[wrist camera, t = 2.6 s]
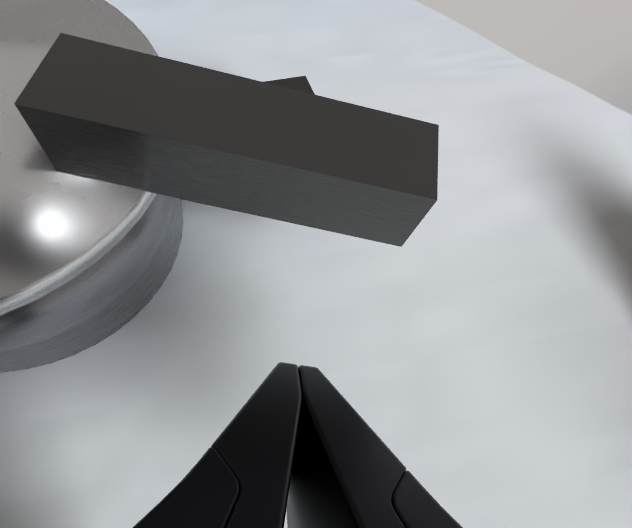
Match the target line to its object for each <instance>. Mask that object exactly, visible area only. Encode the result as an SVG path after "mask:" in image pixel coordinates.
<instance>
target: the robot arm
mask: <svg viewBox="0 0 632 528" xmlns="http://www.w3.org/2000/svg"><path fill="white" fill-rule="evenodd" d="M286 507H287V524H288V528H462V527H461V526H460V525H459V524H458V523H457V522H456V521H455V520H454V519H453V518H452V517H451V516H450V515H449V514H448V513H447V512H446V511H445V510H444V509H443V508H442V507H441V506H440V504H439V503H438V502H437V501H436V500H435V499H434V498H433V497H432V496H431V495H430V494H429V493H428V492H427V491H426V489H425V488H424V487H423V486H422V485H421V484H420V483H419V482H418V481H417V479H416V478H415V477H414V476H413V475H412V474H411V473H410V472H409V471H406V467H405V466H404V465H403V464H402V463H401V462H400V461H399V459H398V458H397V457H396V456H395V455H394V454H393V453H392V451H391V450H390V449H389V448H388V447H387V446H386V445H385V444H384V442H383V441H382V440H381V439H380V438H379V437H378V436H377V435H376V433H375V432H374V431H373V430H372V429H371V428H370V427H369V426H368V424H367V423H366V422H365V421H364V420H363V419H362V418H361V416H360V415H359V414H358V413H357V412H356V411H355V410H354V409H353V407H352V406H351V405H350V404H349V403H348V402H347V401H346V400H345V398H344V397H343V396H342V395H341V394H340V393H339V392H338V391H337V389H336V388H335V387H334V386H333V385H332V384H331V383H330V381H329V380H328V379H327V378H326V377H325V376H324V375H323V374H322V372H321V371H320V370H319V369H318V368H316V367H310V366H303V365H301V366H299V367H298V366H297V365H295V364H289V363H283V362H280V363H278V364H277V365H276V367H275V368H274V369H273V370H272V372H271V373H270V374H269V375H268V377H267V378H266V379H265V380H264V382H263V383H262V384H261V385H260V386H259V388H258V389H257V390H256V391H255V393H254V394H253V395H252V396H251V398H250V399H249V400H248V401H247V403H246V404H245V405H244V406H243V407H242V409H241V410H240V411H239V412H238V414H237V415H236V416H235V417H234V419H233V420H232V421H231V422H230V424H229V425H228V426H227V427H226V428H225V430H224V431H223V432H222V433H221V435H220V436H219V437H218V438H217V440H216V441H215V442H214V443H213V445H212V446H211V448H209V449H208V450H207V452H206V453H205V454H204V455H203V457H202V458H201V459H200V460H199V462H198V463H197V464H196V465H195V466H194V467H193V468H192V469H191V471H190V472H189V473H188V474H187V475H186V476H185V477H184V479H183V480H182V481H181V482H180V483H179V484H178V485H177V486H176V487H175V488H174V489H173V490H172V491H171V492H170V493H169V494H168V495H167V496H166V497H165V498H164V499H163V500H162V501H161V502H160V503H159V504H157V505H156V506H155V507H154V508H153V509H152V510H151V511H150V512H149V513H148V514H147V515H146V516H145V517H144V518H142V519H141V520H140V521H139V522H138V523H137V524H136V525H135V526H134V527H133V528H284V521H285V514H286Z"/></svg>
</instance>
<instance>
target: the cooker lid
mask: <svg viewBox="0 0 632 528" xmlns="http://www.w3.org/2000/svg"><path fill="white" fill-rule="evenodd" d="M438 126H439V125H436V124H432V123H428V122H424V121H420V120H415V119H411V118H407V117H403V116H399V115H395V114H391V113H387V112H383V111H379V110H375V109H371V108H366V107H362V106H358V105H354V104H350V103H346V102H342V101H338V100H334V99H330V98H326V97H322V96H317V95H313V94H309V93H305V92H301V91H297V90H293V89H289V88H285V87H281V86H277V85H273V84H268V83H264V82H260V81H256V80H252V79H248V78H244V77H240V76H236V75H232V74H228V73H224V72H219V71H215V70H211V69H207V68H203V67H199V66H195V65H191V64H187V63H183V62H179V61H175V60H170V59H166V58H162V57H158V54H157V53H156V51H155V50H154V48H153V47H152V45H151V44H150V42H149V41H148V39H147V38H146V36H145V35H144V34H143V33H142V32H141V31H140V30H139V29H138V27H137V26H136V25H135V24H134V23H133V22H132V21H131V20H130V19H128V18H127V17H126V16H125V15H124V14H123V13H121V12H120V11H119V10H118V9H117V8H115V7H114V6H112V5H111V4H109V3H108V2H106V1H105V0H0V316H1V315H3V314H5V313H8V312H10V311H12V310H15V309H17V308H19V307H22V306H24V305H26V304H29V303H31V302H33V301H35V300H37V299H39V298H41V297H43V296H44V295H46V294H48V293H50V292H52V291H53V290H55V289H57V288H59V287H60V286H62V285H64V284H66V283H68V282H69V281H71V280H72V279H73V278H75V277H76V276H78V275H79V274H81V273H82V272H83V271H85V270H86V269H88V268H89V267H90V266H92V265H93V264H95V263H96V262H97V261H99V260H100V259H101V258H102V257H103V256H104V255H105V254H106V253H108V252H109V251H110V250H111V249H112V248H113V247H114V246H115V245H117V244H118V243H119V242H120V241H121V240H122V239H123V238H124V237H125V235H126V234H127V233H128V232H129V231H130V230H131V229H132V228H133V226H134V225H135V224H136V223H137V222H138V221H139V220H140V219H141V217H142V216H143V214H144V213H145V211H146V210H147V208H148V207H149V205H150V204H151V202H152V201H153V199H154V198H155V196H156V194H160V195H165V196H170V197H174V198H179V199H183V200H188V201H193V202H197V203H202V204H207V205H211V206H216V207H220V208H225V209H230V210H234V211H239V212H244V213H248V214H253V215H257V216H262V217H267V218H271V219H276V220H281V221H285V222H290V223H294V224H299V225H304V226H308V227H313V228H318V229H322V230H327V231H331V232H336V233H341V234H345V235H350V236H355V237H359V238H364V239H368V240H373V241H378V242H382V243H387V244H392V245H396V246H402V245H403V244H404V243H405V241H406V240H407V239H408V237H409V236H410V235H411V233H412V232H413V231H414V230H415V228H416V227H417V226H418V224H419V223H420V222H421V220H422V219H423V218H424V217H425V215H426V214H427V213H428V211H429V210H430V209H431V207H432V206H433V205H434V204H435V202H436V201H437V178H438Z"/></svg>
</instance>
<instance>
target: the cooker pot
mask: <svg viewBox="0 0 632 528" xmlns="http://www.w3.org/2000/svg"><path fill="white" fill-rule="evenodd" d="M264 83H268V84H273V85H277V86H281V87H285V88H289V89H293V90H297V91H301V92H305V93H309V94H313V95H315V94H314V92H313V90H312V88H311V86H310V84H309V82H308V80H307V78H306V76H301V77H294V78H287V79H280V80H273V81H266V82H264ZM182 227H183V214H182V204H181V200H180V199H179V198H174V197H170V196H165V195H160V194H156V196H155V198H154V199H153V201H152V202H151V204H150V205H149V207H148V208H147V210H146V211H145V213H144V214H143V216H142V217H141V219H140V220H139V221H138V222H137V223H136V224H135V225H134V226H133V228H132V229H131V230H130V231H129V232H128V233H127V234H126V235H125V237H124V238H123V239H122V240H121V241H120V242H119V243H118V244H117V245H115V246H114V247H113V248H112V249H111V250H110V251H109V252H108V253H106V254H105V255H104V256H103V257H102V258H101V259H100V260H99V261H97V262H96V263H95V264H93V265H92V266H90V267H89V268H88V269H86V270H85V271H83V272H82V273H81V274H79V275H78V276H76V277H75V278H73V279H72V280H71V281H69V282H68V283H66V284H64V285H62V286H60V287H59V288H57V289H55V290H53V291H52V292H50V293H48V294H46V295H44V296H43V297H41V298H39V299H37V300H35V301H33V302H31V303H29V304H26V305H24V306H22V307H19V308H17V309H15V310H12V311H10V312H8V313H5V314H3V315H1V316H0V372H8V371H15V370H23V369H29V368H33V367H37V366H41V365H45V364H49V363H53V362H55V361H58V360H61V359H64V358H66V357H69V356H72V355H75V354H77V353H79V352H81V351H83V350H85V349H87V348H89V347H91V346H93V345H95V344H97V343H99V342H100V341H102V340H103V339H105V338H106V337H108V336H110V335H111V334H113V333H114V332H116V331H117V330H119V329H120V328H121V327H122V326H124V325H125V324H126V323H127V322H129V321H130V320H131V319H132V318H134V317H135V316H136V315H137V314H138V313H139V312H140V311H141V310H142V308H143V307H144V306H145V305H146V304H147V303H148V302H149V301H150V300H151V299H152V297H153V296H154V295H155V293H156V292H157V291H158V290H159V288H160V287H161V286H162V284H163V282H164V280H165V279H166V277H167V275H168V274H169V272H170V270H171V268H172V265H173V263H174V261H175V258H176V256H177V253H178V249H179V245H180V241H181V237H182Z"/></svg>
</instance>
